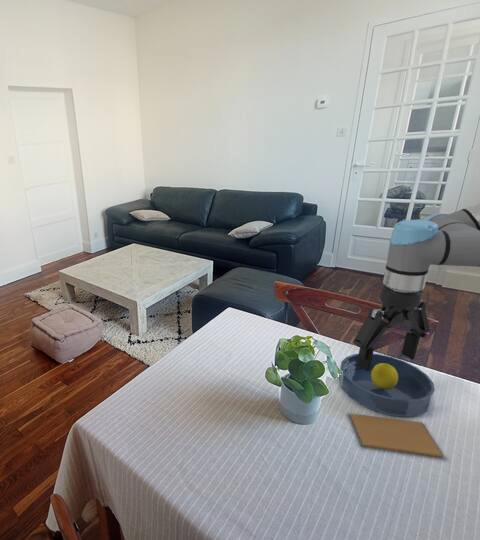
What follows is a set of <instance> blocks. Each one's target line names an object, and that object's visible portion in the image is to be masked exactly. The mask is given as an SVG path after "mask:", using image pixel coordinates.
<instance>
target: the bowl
mask: <svg viewBox="0 0 480 540" xmlns="http://www.w3.org/2000/svg"><path fill="white" fill-rule="evenodd" d="M358 361H359V353H354V354H351V355H348V356H346V357H345V358H343V359H342V360H341V361H340V367H339V368H340V369H341V370H342V371H343V374H342V375H340V374H339V376H338V383H339V386H340V388H341V390H342V391H343V392H344V393H345V394H346V395H347V396H348V397H349V398H350V399H351V400H353V401H355V402H356V403H358V404H359V405H361V406H363V407H365V408H368V409H369V410H372V411H374V412H378V413H380V414H384V415H385V414H386V415H387V416H395V417H402V418H407V417H417V416H421V415H422V414H425V413H427V412H428V411H429V409H430V408H431V406H432V403H433V400H434V396H435V392H436V389H435V383H434V382H433V381H432V379H431V378H430V377H429V376H428V374H427V373H426V372H424V371H422V370H421V369H420V368H418V367H417V366H416V365H413V364H411V363H409V362H408V361H405V360H401V359H399V358H396V357H393V356H389V355H385V354H380V353H373V357H372V362H371V367H370V371H366V370H364V369H363V368H361V367H360V366H358ZM380 363H387V364H389V365H391V366H393V367H394V368H395V369H396V371H397V373H398V382H397V384H396V386H395V387H394V388H392V389H389V390H384V389H383V390H382V389H380V388H378V387H377V386H376V385H375V384H374V383H373V382H372V379H371V372H372V370H373V368H374V367H375V366H376V365H377V364H380ZM340 369H339V370H340Z"/></svg>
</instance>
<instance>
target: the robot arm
mask: <svg viewBox="0 0 480 540" xmlns="http://www.w3.org/2000/svg"><path fill="white" fill-rule="evenodd" d="M388 246H389V247H388V252H387V259H386V264H385V269H384V275H383V280H382V285H381V288H380V293H379V299H380V301H381V302H382V305H381V307H380V308H379V309H378V308H377V309H376V308H374V307H370V308H369V310H368V315H367V317H366V318H365V320H364V322H363V324H362V325H361V327H360V329H359V330H358V332H357V334H356V335H355V336H354V339H353V341H352V343H353V345H355V346H357V347H359V351H358V354H359V361H358V366H360V367H361V368H363V369H364V370H366V371H370V367H371V362H372V357H373V354H374V351H375V348H374V345H375V344H376V343H377V342H378V341H379V339H380V338H381V337H382V336H383V335H384V333H385V332H386V331H387V330H388V329H391V328H392V327H393V326H394V325H397V324H400V323H401V324H402V323H403V324H404V325H405V326H406V328H407V330H408V331H407V332H405V337H404V342H403V345H402V349H401V355H403V356H404V357H406V358H407V359H410V360H411V361H413V360H415V357H416V355H417V350H418V346H419V344H420V339H421V338H423V339H425V338H426V337H427V336H428V335H427V333H429V332H430V330H431V328H430V325H429V320H428V316H427V315H428V314H427V312H426V307H427V302H426V301H423V300H422V298H423V294H424V291H423V290H424V289H425V288H426V287H425V286H426V282H427V276H428V274H429V269H430V266H451V267H452V266H453V267H456V266H457V267H473V268H474V267H476V268H480V202H477V203H475V204H471V205H470V206H466V207H463V208H461V209H458V210H456V211H454V212H451V213H434V214H431V215H428V216H426V217H425V218H424V219H423V220H420V219H405V220H401V221H398V222H397V223H395V224H394V226H393V229H392V233H391V236H390V239H389V245H388Z"/></svg>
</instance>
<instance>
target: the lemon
mask: <svg viewBox="0 0 480 540" xmlns="http://www.w3.org/2000/svg"><path fill="white" fill-rule="evenodd" d="M371 379H372V382H373V383H374V384H375V385H376V386H377V387H378V388H380V389H382V390H383V389H384V390H389V389H392V388H394V387H395V386H396V384H397V382H398V373H397V371H396V369H395V368H394V367H393V366H391V365H389V364H387V363H380V364H377V365H376V366H375V367H374V368H373V370H372V372H371Z"/></svg>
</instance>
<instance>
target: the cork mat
mask: <svg viewBox="0 0 480 540" xmlns="http://www.w3.org/2000/svg"><path fill="white" fill-rule="evenodd" d="M350 417H351V419H352V422H353V424H354V427H355V429H356V431H357V434H358V436H359V439H360V441H361V444H362V446H363V447H369V448H376V449H383V450H389V451H396V452H402V453H410V454H416V455H424V456H430V457H438V458H442V457H443V454H442V452H441V451H440V449H439V447H438V446H437V445H436V443H435V441H434V440H433V439H432V437H431V436H430V433H429V432H428V431H427V429H426V428H425V426H424V425H423V423H422V422H420V421H412V420H404V419H396V418H387V417H379V416H371V415H362V414H354V413H351V414H350Z"/></svg>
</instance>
